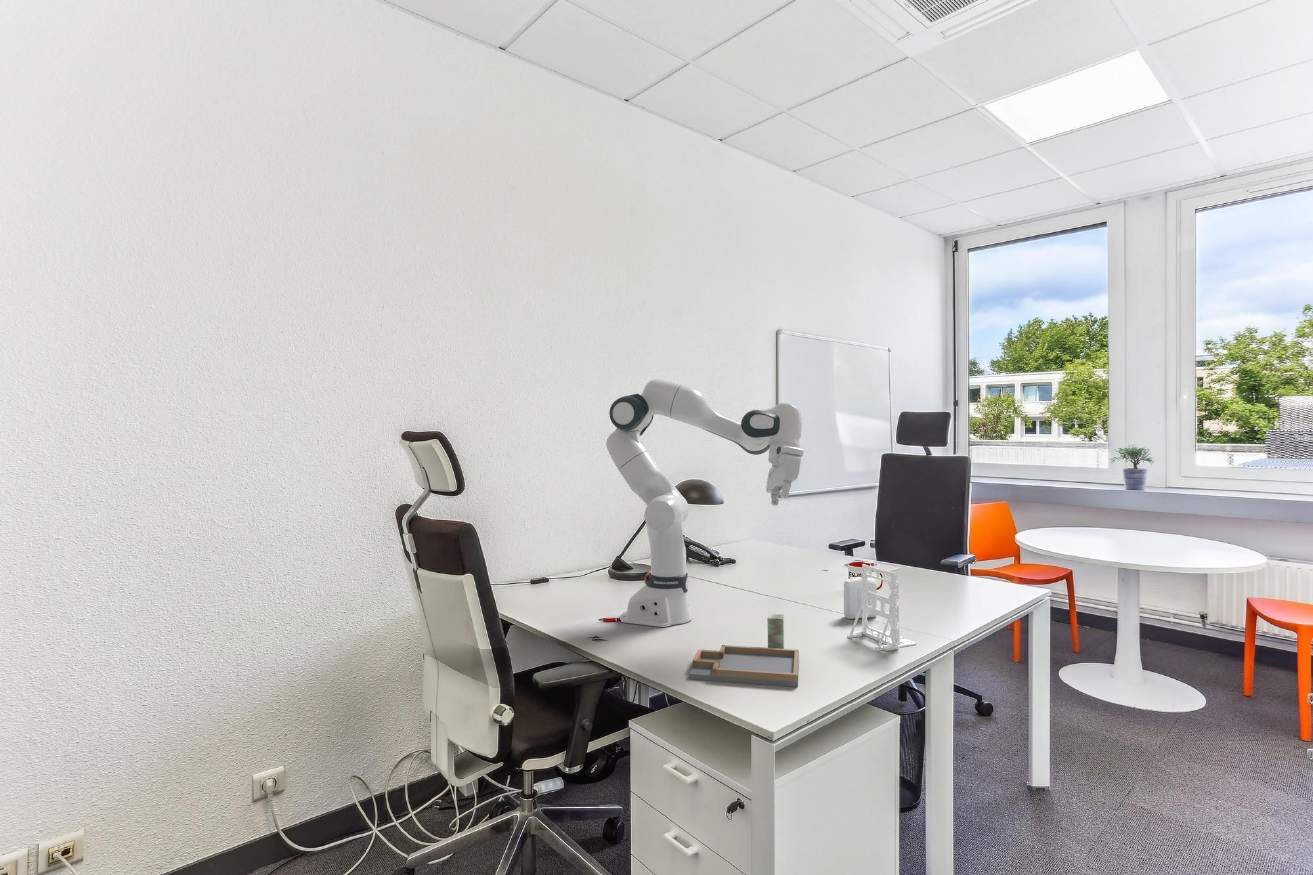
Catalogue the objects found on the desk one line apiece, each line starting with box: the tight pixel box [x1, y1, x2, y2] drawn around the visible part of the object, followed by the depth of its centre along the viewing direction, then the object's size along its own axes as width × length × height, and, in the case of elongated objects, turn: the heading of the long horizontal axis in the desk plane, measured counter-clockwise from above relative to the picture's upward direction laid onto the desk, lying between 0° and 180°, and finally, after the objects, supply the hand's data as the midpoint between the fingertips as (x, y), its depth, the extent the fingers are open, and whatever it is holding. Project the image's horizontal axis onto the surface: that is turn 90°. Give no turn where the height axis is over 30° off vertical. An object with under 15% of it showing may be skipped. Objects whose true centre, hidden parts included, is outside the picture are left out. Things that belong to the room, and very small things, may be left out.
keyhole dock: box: [688, 644, 800, 688], centre depth 153 cm, size 25×17×3 cm
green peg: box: [766, 613, 785, 649], centre depth 166 cm, size 4×4×9 cm
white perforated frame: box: [846, 563, 918, 652], centre depth 172 cm, size 14×14×20 cm
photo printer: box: [843, 576, 878, 620], centre depth 194 cm, size 10×4×12 cm, turn 103°
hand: (779, 501), depth 181 cm, fingers open, 8 cm apart
